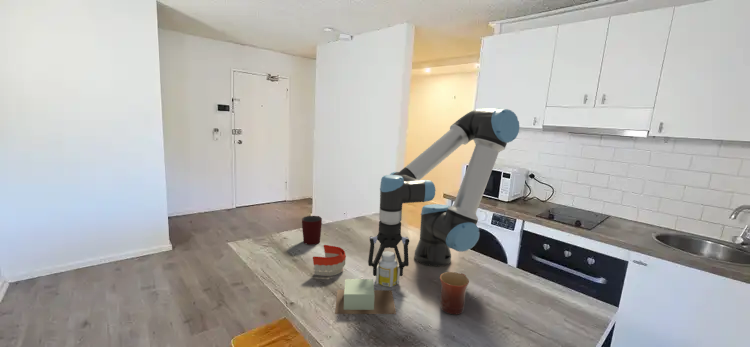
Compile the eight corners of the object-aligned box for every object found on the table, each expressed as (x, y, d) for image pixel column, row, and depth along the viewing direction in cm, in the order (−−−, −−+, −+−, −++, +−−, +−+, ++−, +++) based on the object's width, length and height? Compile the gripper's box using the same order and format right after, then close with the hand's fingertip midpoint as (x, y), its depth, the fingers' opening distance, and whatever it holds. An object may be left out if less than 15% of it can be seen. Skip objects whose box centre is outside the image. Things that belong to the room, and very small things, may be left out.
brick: (372, 293, 107) (373, 279, 106) (373, 309, 98) (374, 294, 97) (344, 293, 106) (345, 279, 106) (343, 309, 98) (344, 294, 97)
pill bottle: (395, 280, 118) (397, 250, 116) (397, 290, 112) (399, 258, 110) (377, 280, 118) (378, 250, 116) (378, 289, 112) (379, 257, 109)
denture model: (339, 282, 116) (340, 261, 114) (311, 278, 118) (312, 257, 116) (349, 266, 128) (349, 247, 126) (324, 263, 130) (324, 244, 128)
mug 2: (458, 321, 96) (461, 289, 94) (432, 309, 101) (434, 279, 99) (475, 304, 105) (478, 274, 103) (450, 294, 110) (452, 265, 109)
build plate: (391, 293, 110) (391, 290, 109) (396, 317, 97) (396, 313, 97) (337, 293, 108) (337, 290, 108) (334, 317, 96) (334, 313, 96)
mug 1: (311, 234, 159) (311, 213, 157) (327, 237, 157) (328, 215, 155) (298, 243, 148) (298, 220, 146) (316, 246, 145) (316, 223, 143)
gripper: (416, 218, 115) (413, 278, 119) (361, 216, 114) (359, 278, 118) (420, 225, 107) (416, 289, 112) (361, 224, 106) (359, 289, 111)
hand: (387, 283), depth 115 cm, fingers closed on pill bottle, 6 cm apart
